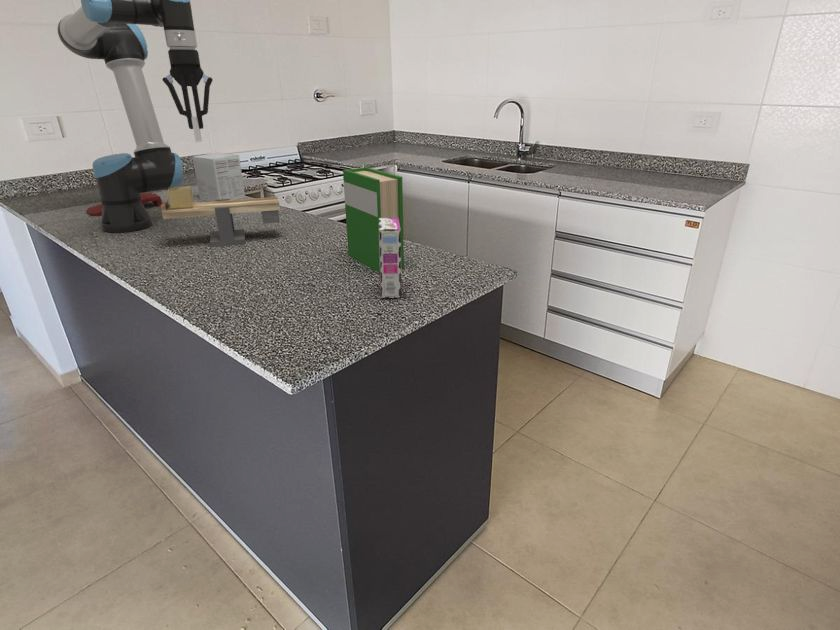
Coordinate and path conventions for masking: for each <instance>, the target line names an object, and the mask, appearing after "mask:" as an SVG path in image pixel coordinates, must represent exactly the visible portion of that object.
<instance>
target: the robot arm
mask: <svg viewBox="0 0 840 630" xmlns="http://www.w3.org/2000/svg"><path fill="white" fill-rule="evenodd" d="M80 3H81V7H79V9H76V11H75V12H74V13H71V14H66V15H65V16H63V17H62V19H61V20H60V21H59V22H58V23H57V24H58V25H57V34H58V37H59V41H61V43H62V44H63V46H64V47H65V48H66V49H68V50H69V51H70V52H71V53H73V54H75V55H78V56H79V57H82V58H84V59H89V60H90V59H91V60H103V61H104V63H105V66H106V68H107V69H109V70H110V71H112V72H113V74H114V78H115V82H116V84H117V87H118V88H117V89H118V90H119V95H120V98H121V101H122V104H123V107H124V109H125V112H126V113H125V114H126V116H127V120H128V122H129V123H128V124H129V125H130V129H131V132H132V136H133V139H134V142H135V145H136V148H135V149H134V151H133V155H134V156H132V155H131V154H130V153H126V152H123V153H122V152H121V153H114V154H109V155H105V156H102V157H98V158H96V159H95V160H93V163H92V172H93V177H94V179H95V182H96V186H97V190H98V194H99V197H100V203H101V204H102V206H103V208H102V216H101V221H100V224H101V229H102V231H103V232H107V233H130V232H135V231H141V230H144V229H148V228H150V227H151V226H152V225H153V221H152V217H151V215H150V213H149V212H148V210H147V209H146V207H145V205H144V204H142V202H141V197H140V194H142V193H152V192H158V191H159V192H160V191H163V190H166V191H167V190H168V188H169V187H181V184H182V183H183V178H184V167H183V162H182V160H181V158H180V155H178V154H177V153H176V152H172V150H171V147H170V146H169V145H167V144H166V143H165V142H164V139H163V136H162V135H163V134H162V132H161V129H160V126H159V122H158V119H157V115H156V113H155V109H154V104H153V102H152V99H151V95H150V92H149V89H148V86H147V83H146V78H145V75H144V73H143V68H144V66H145V65H146V61H145V60H147V59H148V55H149V51H148V45H147V41H146V38H145V36H144V33H143V31H142V30H141V29H140V28H141V27H139V26H138V25H141V26H142V25H143V26H151V27H160V28H163V31H164V37H165V42H166V46H167V48H169V49H168V51H167V54H168V59H169V65H170V70H169V74H168V75H166V76H165V77H163V78H162V82H163V83H164V84H165V85H166V87H167V88H168V90H169V93H170V94H171V97H172V100H173V102H174V104H175V106H176V108H177V111H178V113H179V115H181V116H184V117H186V119H187V124H188V128H189V130H192V131H193V135H194V139H195V143H196V142H197V143H198V142H202V134H201V130H203V129H204V121H203V116H205V115H207V114H208V113H209V104H210V103H209V101H210V92H211V91H210V87H211V85H212V82H213V77H211V76H209V75H207V74H205V73H204V70H203V69H202V67H201V61H200V54H199V51H198V50H197V49H196V48H198V42H197V36H196V31H195V30H196V29H195V26H194V18H193V13H192V4H191V0H80ZM202 79H203V84H204V91H203V104H202V105H203V106H202V108H201V102H200V97H199V96H200V95H199V91H198V86H199V84H200V82H201V81H202ZM174 81H175V82H176V83H177V84H178V85H179V86H180V87H181V92H182V98H183V104H184V107H183V105H182V102H181V100H180V98H179V95H178V93H177V90H176V89H175V88H176V87H175V86H174ZM188 87H191V92H192V96H193V102H194V108H195V109H194V110H195V113H196V115H195V116H193V114H192V113H193V112H192V109H191V103H190V102H191V101H190V96H189V91H188V89H189V88H188ZM184 109H185V110H184Z"/></svg>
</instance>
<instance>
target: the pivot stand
mask: <svg viewBox="0 0 840 630" xmlns="http://www.w3.org/2000/svg"><path fill="white" fill-rule="evenodd" d="M226 200H230V199H218V200H216V201H226ZM215 214H216V215H215V218H216V224H217V230H215V231H211V232H210V233H211V234H210V240H209V246H210V248H213V247H214V248H215V247H226V246H227V245H228V246H238V245H239V246H240V245H246V231H245V228H237V229H235V223H234V217H233V214H230V209H229V207H216V208H215Z"/></svg>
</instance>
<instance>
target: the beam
mask: <svg viewBox="0 0 840 630" xmlns="http://www.w3.org/2000/svg"><path fill="white" fill-rule="evenodd" d="M194 205H195V206H194V208H191V209H177V210H171V207H170V203H169V200H162V205H161V206H160V207H161V215H162V219H163V220H164V219H165V220H166V219H178V218H190V217H191V218H193V217H206V216H216V214H215V208H216V207H229V209H230V214H232V215H233V214H244V213H245V214H246V213H247V214H248V213H258V212H261V218H262V224H263V225H266V224H275V223H280V214H279V213H280V212H279V210H281V207H280V202H279V197H278V196H271V197H260V198H259V197H258V198H257V197H256V198H241V199H237V200H226V201H212V202H210V201H201V202H199V201H198V202H194Z"/></svg>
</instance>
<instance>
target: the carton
mask: <svg viewBox="0 0 840 630" xmlns="http://www.w3.org/2000/svg"><path fill="white" fill-rule="evenodd" d="M140 197H141V202H142V204H143V205H144V204H147V203H152V204H153V203H154V205H155V206H156V207H161V205H162V203H163V200H162V198H161V196H160V195H158V194H157V193H152V192H145V193H140ZM102 208H103V206H102V203H101V204H97V205H94V206H91V207H88V208H87V209H85V210H86V213H87V214H88V215H90V216H91V217H102Z"/></svg>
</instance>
